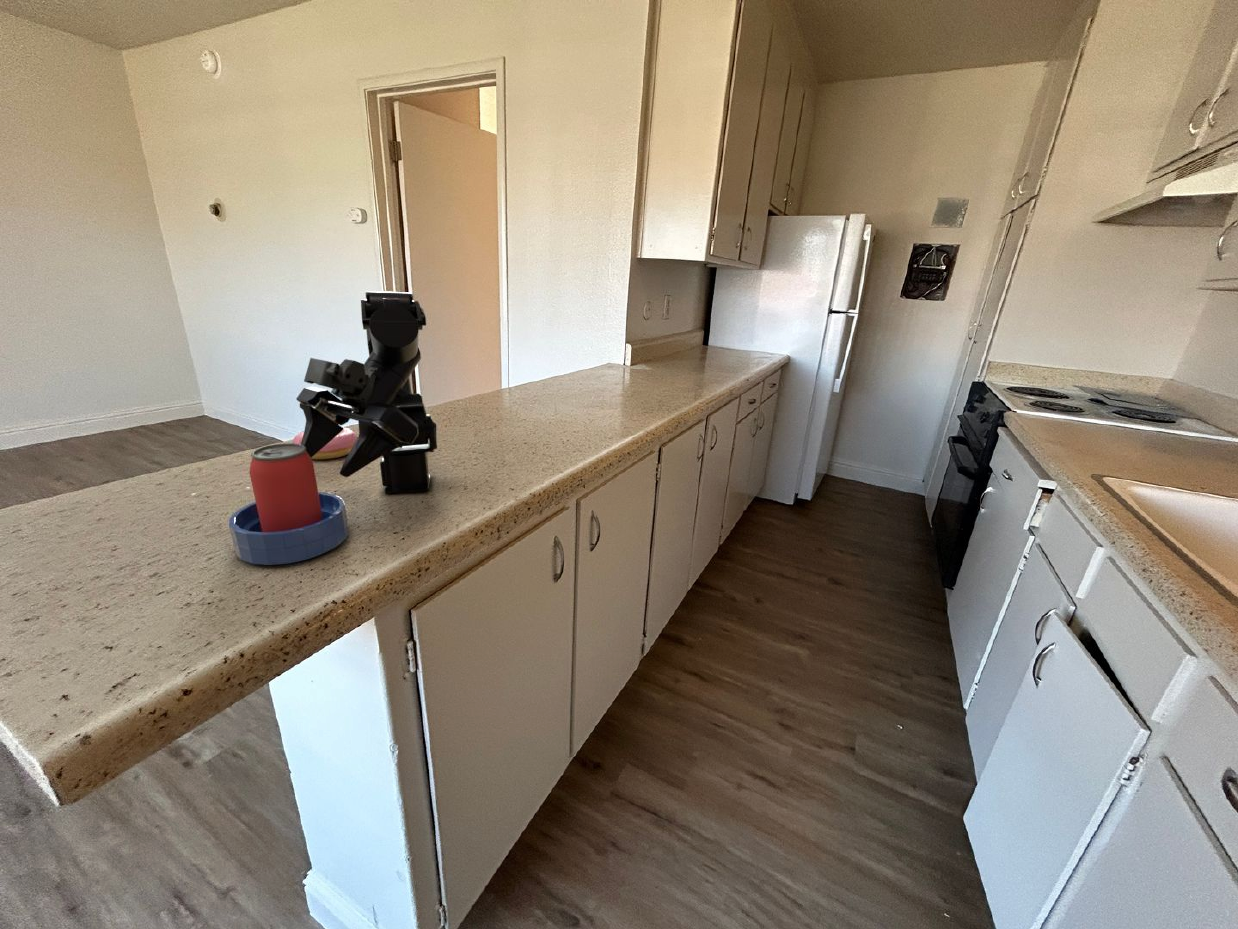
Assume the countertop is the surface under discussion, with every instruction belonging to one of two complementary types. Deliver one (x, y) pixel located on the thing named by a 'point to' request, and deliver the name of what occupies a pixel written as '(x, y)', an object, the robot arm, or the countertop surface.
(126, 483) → the countertop surface
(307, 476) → the beer can
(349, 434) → the doughnut
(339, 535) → the bowl
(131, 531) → the countertop surface
